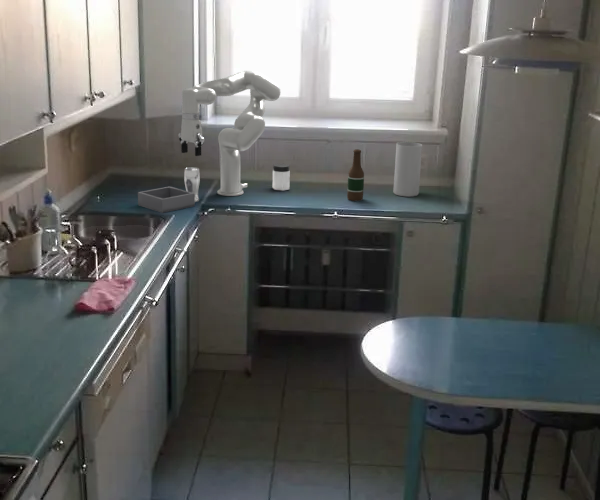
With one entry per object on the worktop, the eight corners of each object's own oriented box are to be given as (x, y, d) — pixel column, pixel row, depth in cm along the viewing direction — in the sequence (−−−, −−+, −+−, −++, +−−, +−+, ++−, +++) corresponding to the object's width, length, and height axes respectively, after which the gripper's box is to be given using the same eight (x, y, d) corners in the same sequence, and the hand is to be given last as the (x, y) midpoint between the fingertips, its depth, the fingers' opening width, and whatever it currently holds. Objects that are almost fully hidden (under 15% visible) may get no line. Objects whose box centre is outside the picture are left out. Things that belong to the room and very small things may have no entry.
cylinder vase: (423, 195, 376) (427, 145, 368) (402, 197, 370) (405, 147, 363) (409, 190, 386) (412, 141, 379) (388, 192, 381) (391, 142, 373)
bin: (170, 199, 356) (169, 186, 354) (194, 206, 344) (194, 193, 343) (138, 205, 343) (137, 192, 341) (162, 212, 332) (162, 199, 330)
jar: (271, 186, 386) (271, 163, 382) (286, 186, 387) (287, 163, 384) (274, 190, 377) (275, 167, 374) (290, 190, 379) (291, 166, 376)
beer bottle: (366, 200, 364) (368, 150, 357) (352, 201, 360) (355, 151, 353) (356, 196, 370) (359, 147, 363) (343, 198, 366) (345, 149, 359)
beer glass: (197, 202, 350) (196, 170, 346) (182, 201, 352) (182, 169, 347) (201, 199, 357) (201, 167, 352) (187, 198, 358) (187, 166, 354)
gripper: (209, 118, 340) (210, 155, 345) (185, 113, 351) (185, 150, 356) (196, 119, 334) (197, 157, 339) (172, 115, 345) (173, 152, 351)
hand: (191, 154), depth 348 cm, fingers open, 9 cm apart
